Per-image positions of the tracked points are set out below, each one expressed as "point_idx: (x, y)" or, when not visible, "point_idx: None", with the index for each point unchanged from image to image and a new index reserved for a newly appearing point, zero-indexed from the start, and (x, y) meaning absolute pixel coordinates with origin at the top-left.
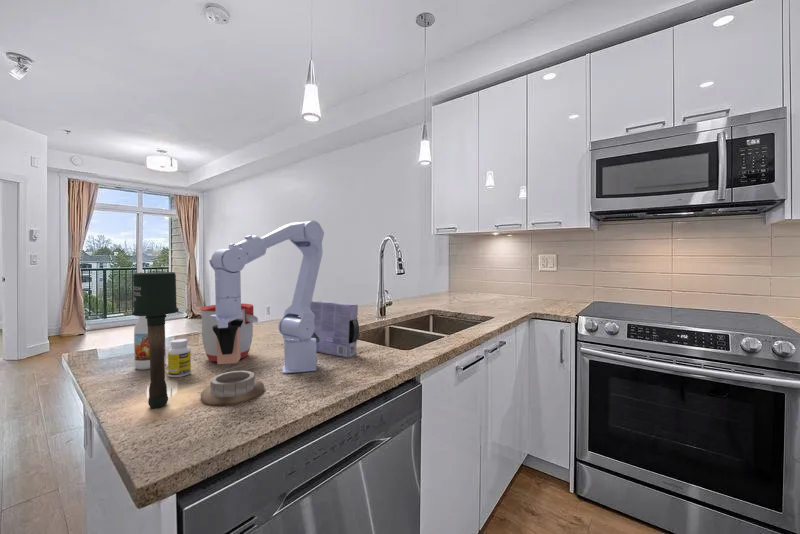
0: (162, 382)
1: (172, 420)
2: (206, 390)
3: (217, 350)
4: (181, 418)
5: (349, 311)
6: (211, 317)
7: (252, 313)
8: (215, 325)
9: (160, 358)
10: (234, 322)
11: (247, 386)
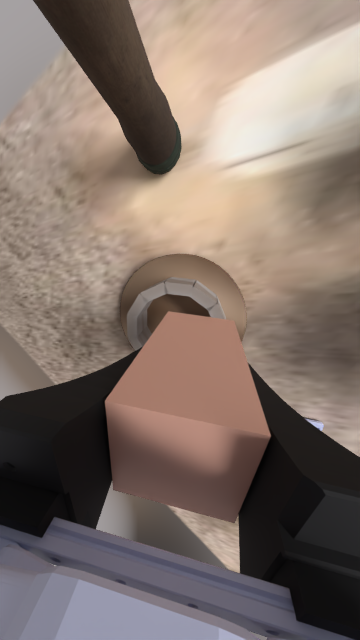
0: (126, 130)
1: (76, 217)
2: (194, 264)
3: (154, 333)
4: (82, 233)
5: None
6: (12, 628)
7: None
8: (43, 451)
9: (45, 14)
10: (257, 562)
11: None
